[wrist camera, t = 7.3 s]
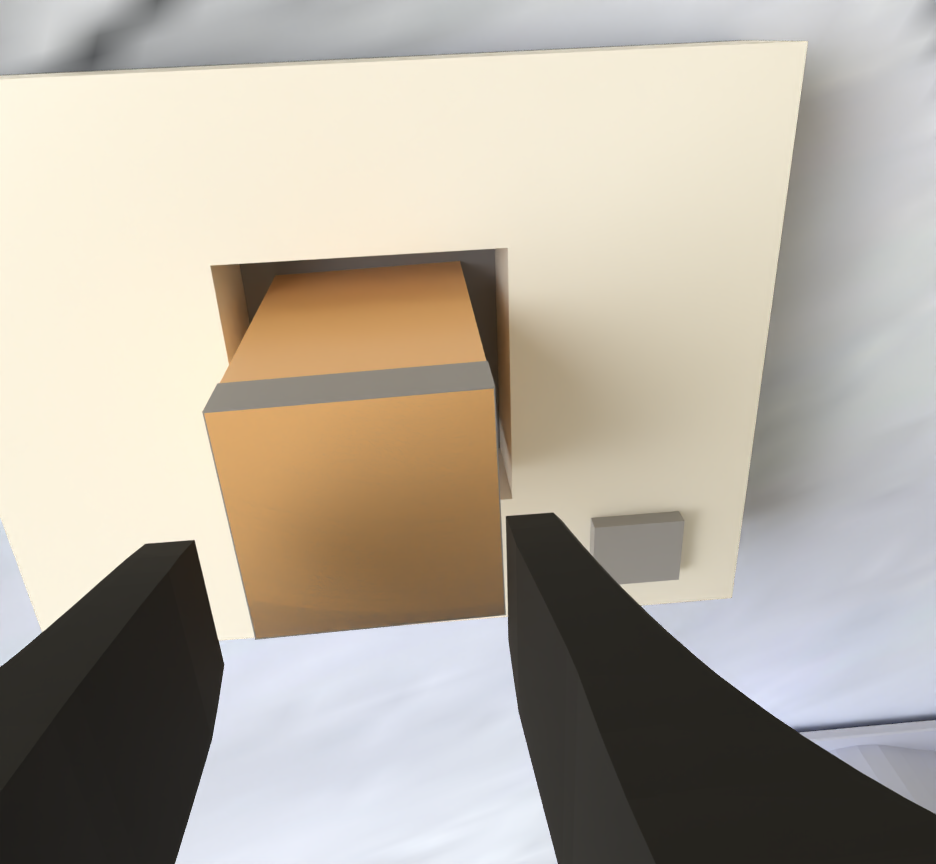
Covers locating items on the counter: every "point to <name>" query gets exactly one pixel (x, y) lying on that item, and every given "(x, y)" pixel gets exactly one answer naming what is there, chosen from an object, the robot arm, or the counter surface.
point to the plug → (361, 454)
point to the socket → (395, 244)
